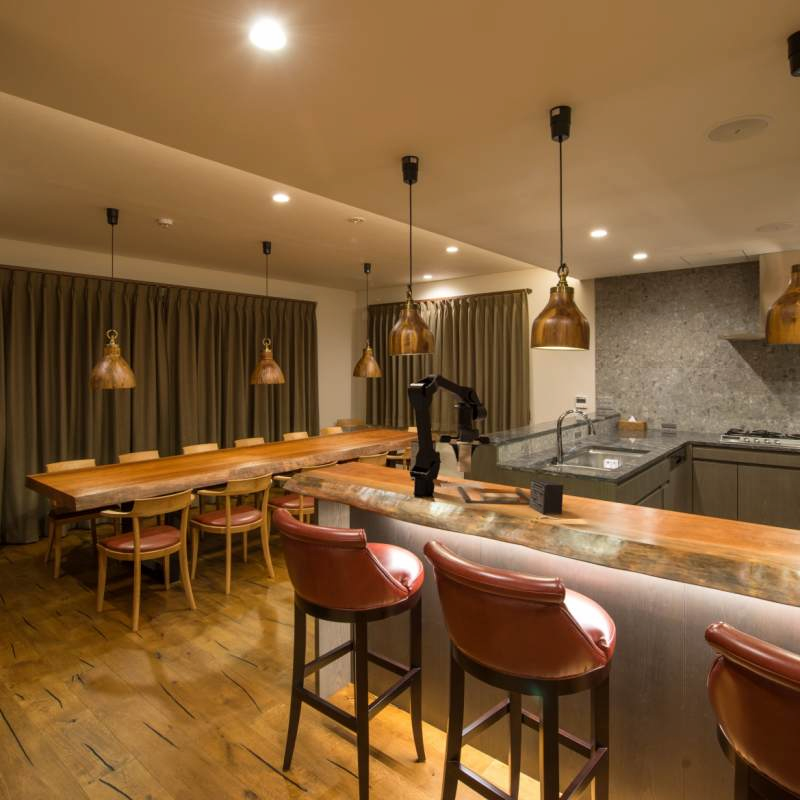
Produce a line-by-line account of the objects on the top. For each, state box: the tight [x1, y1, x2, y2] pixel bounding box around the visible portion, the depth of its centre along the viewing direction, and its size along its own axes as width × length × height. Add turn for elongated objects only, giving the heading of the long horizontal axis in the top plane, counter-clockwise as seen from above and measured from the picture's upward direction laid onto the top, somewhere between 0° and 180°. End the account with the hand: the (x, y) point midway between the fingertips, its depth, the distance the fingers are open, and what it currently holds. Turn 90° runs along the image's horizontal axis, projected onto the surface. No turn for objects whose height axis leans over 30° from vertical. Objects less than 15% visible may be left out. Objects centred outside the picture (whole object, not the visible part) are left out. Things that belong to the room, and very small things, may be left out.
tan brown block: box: [455, 441, 472, 473], centre depth 196 cm, size 4×10×10 cm, turn 1°
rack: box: [456, 486, 530, 505], centre depth 176 cm, size 22×21×2 cm
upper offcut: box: [479, 492, 521, 502], centre depth 170 cm, size 12×5×2 cm, turn 95°
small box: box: [529, 477, 564, 518], centre depth 158 cm, size 11×6×10 cm, turn 9°
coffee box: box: [410, 439, 437, 480], centre depth 213 cm, size 9×6×16 cm
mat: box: [439, 482, 485, 490], centre depth 196 cm, size 16×14×1 cm
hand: (463, 462), depth 196 cm, fingers closed on tan brown block, 4 cm apart
